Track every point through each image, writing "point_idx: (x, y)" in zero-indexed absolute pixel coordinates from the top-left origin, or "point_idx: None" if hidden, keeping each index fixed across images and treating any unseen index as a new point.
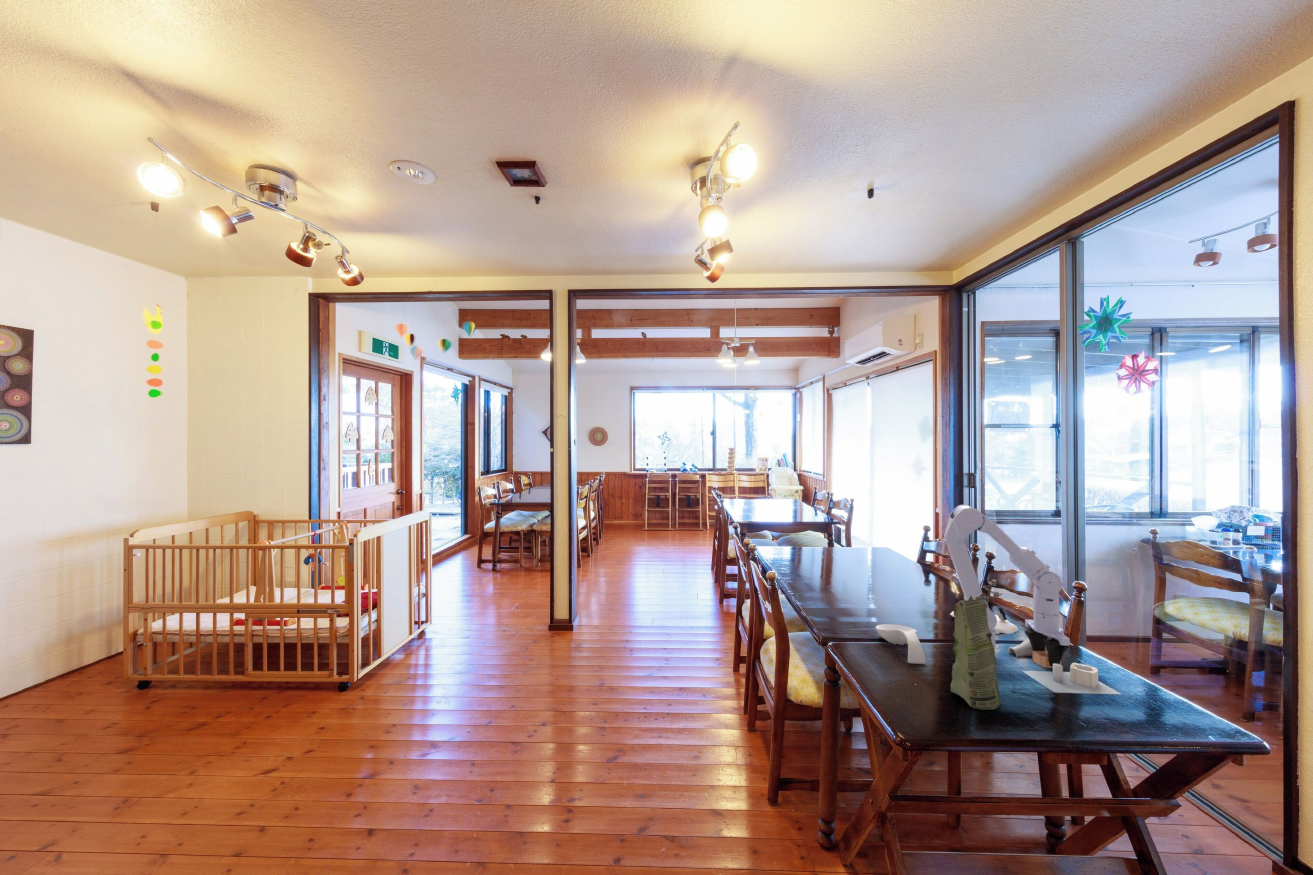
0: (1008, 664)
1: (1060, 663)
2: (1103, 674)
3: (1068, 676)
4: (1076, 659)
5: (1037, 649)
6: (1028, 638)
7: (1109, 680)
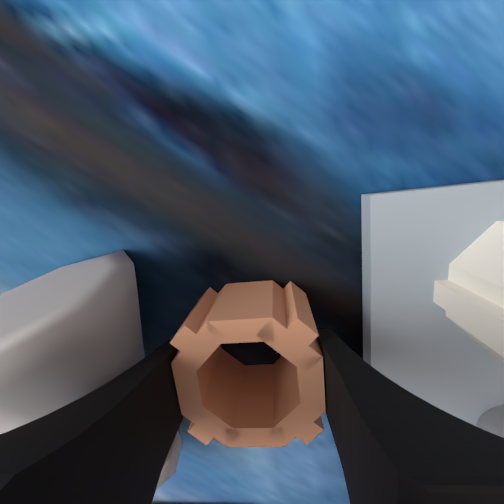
0: (248, 481)
1: (305, 309)
2: (313, 16)
3: (440, 332)
4: (64, 53)
5: (173, 412)
6: (3, 429)
7: (418, 43)
